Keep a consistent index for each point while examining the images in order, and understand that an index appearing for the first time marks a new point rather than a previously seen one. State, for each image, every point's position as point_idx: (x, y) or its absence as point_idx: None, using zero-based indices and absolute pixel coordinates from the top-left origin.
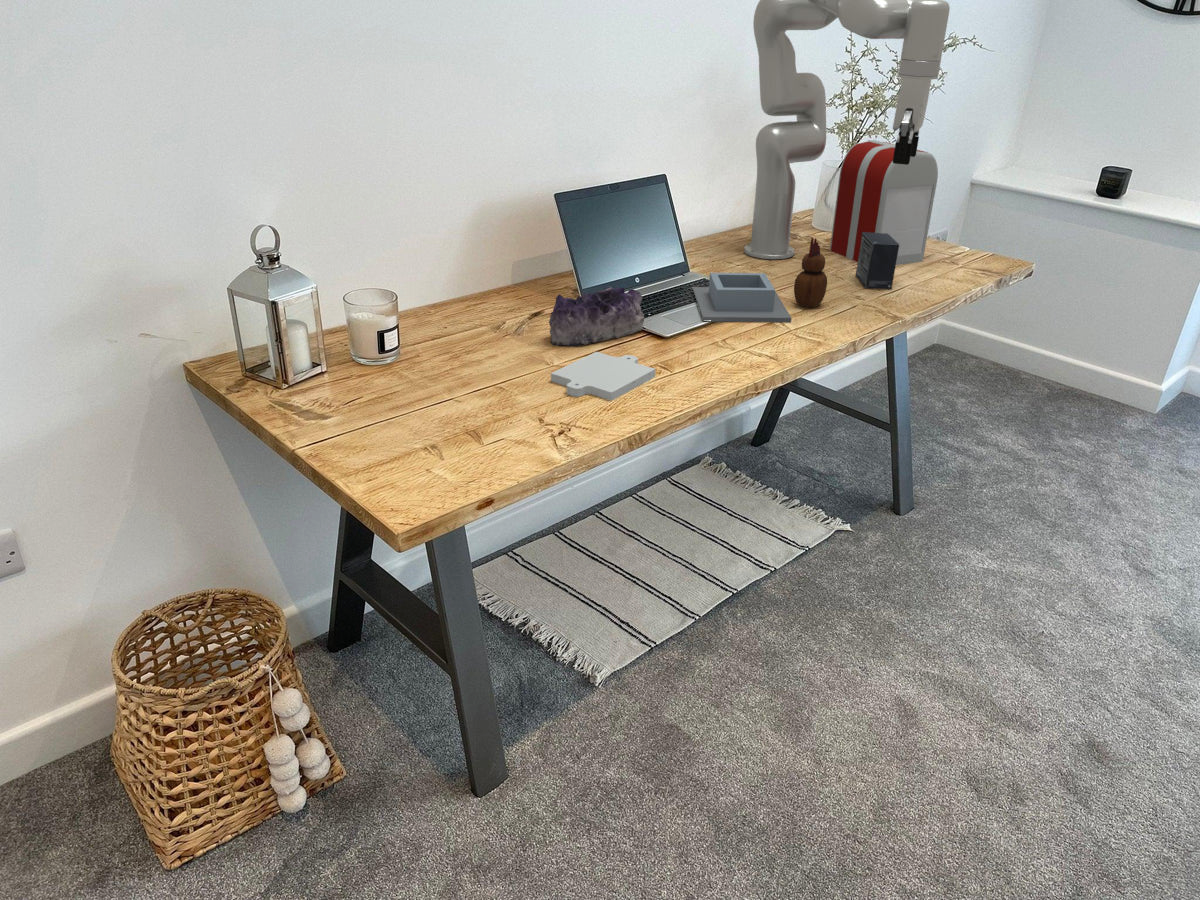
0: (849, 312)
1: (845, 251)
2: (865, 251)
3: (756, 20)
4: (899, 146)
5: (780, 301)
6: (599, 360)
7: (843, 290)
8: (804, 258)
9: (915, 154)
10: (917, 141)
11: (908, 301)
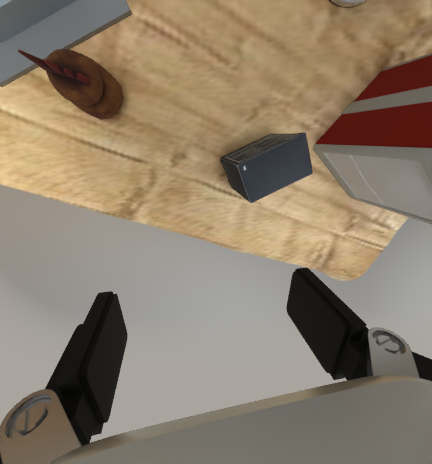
0: (111, 159)
1: (361, 98)
2: (259, 148)
3: None
4: (49, 385)
5: (64, 44)
6: None
7: (200, 131)
8: (49, 54)
9: (292, 316)
10: (320, 358)
11: (195, 213)
